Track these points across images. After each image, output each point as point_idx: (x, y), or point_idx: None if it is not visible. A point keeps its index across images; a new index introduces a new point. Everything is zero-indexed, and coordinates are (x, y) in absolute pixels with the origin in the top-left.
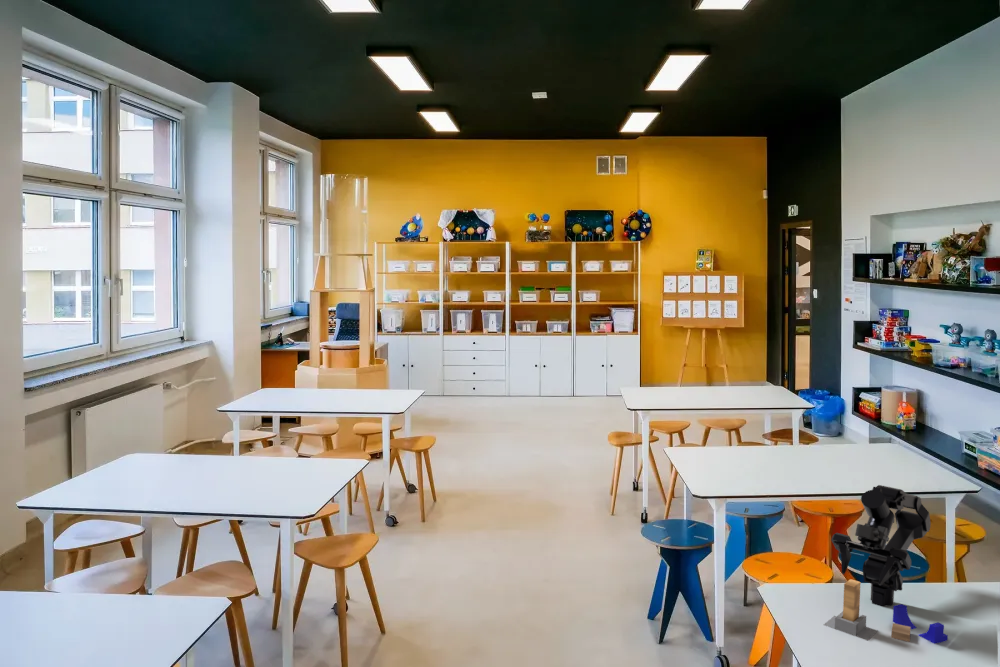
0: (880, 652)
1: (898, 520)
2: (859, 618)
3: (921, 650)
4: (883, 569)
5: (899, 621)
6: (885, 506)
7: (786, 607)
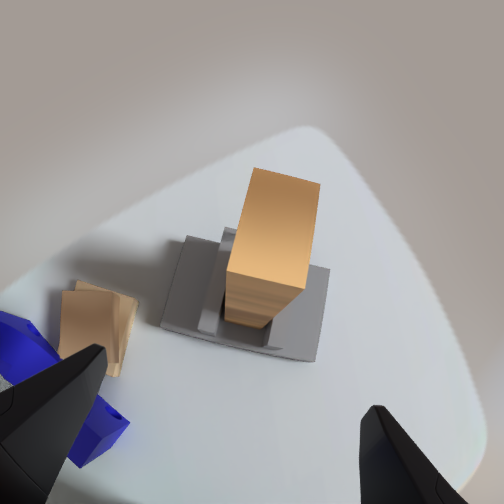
0: (153, 225)
1: None
2: (219, 288)
3: (54, 298)
4: (29, 413)
5: (97, 408)
6: None
7: (438, 360)
